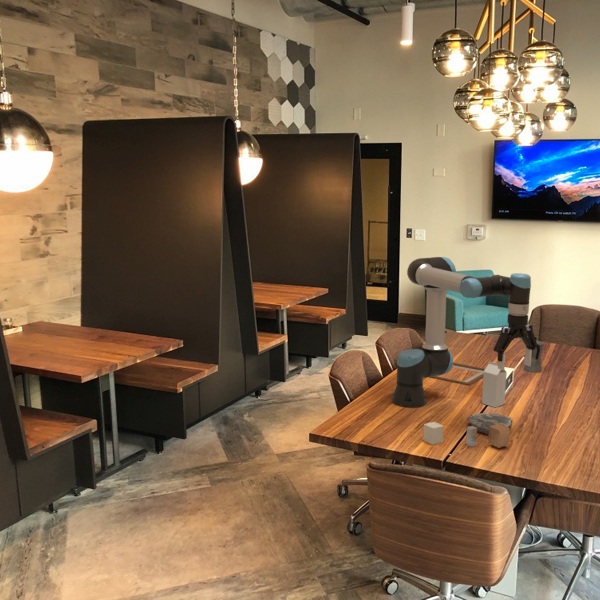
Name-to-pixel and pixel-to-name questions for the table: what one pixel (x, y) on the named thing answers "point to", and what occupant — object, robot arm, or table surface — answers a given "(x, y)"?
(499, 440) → the tan brown block
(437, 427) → the cream sugar cube
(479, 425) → the brain slice
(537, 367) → the coffeepot
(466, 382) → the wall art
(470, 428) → the post
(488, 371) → the milk carton
